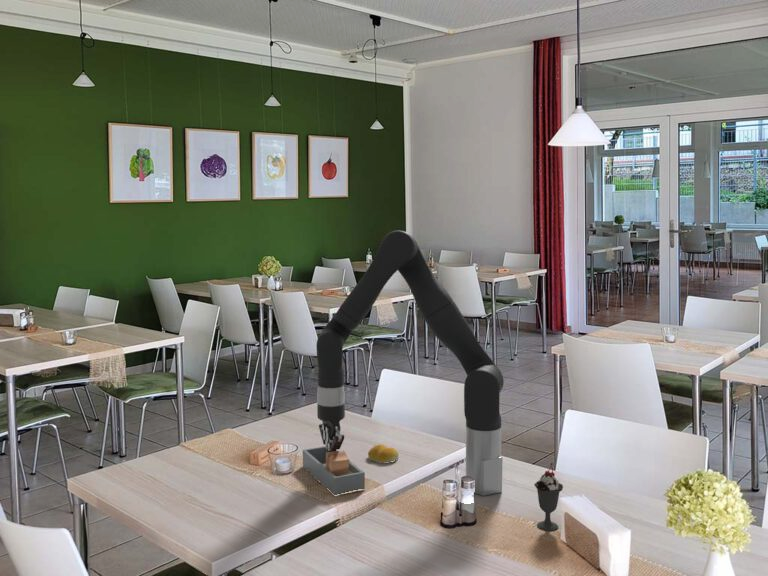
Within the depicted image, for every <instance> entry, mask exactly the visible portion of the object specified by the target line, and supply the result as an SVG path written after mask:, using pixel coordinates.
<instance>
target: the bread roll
mask: <svg viewBox="0 0 768 576" xmlns="http://www.w3.org/2000/svg"><path fill="white" fill-rule="evenodd" d="M367 455H368V458H369V459H370V461H372V460H373V461H372V462H375V461H377V462H376V463H378V462H381V463H380V464H382V463H383V464H385V463H384V462H391V461H394V460H396V461H398V459H399V451H398V450H397V449H395V448H393V447H388V446H387V445H385V444H375V445H373V447H371V448H370V449H369V450H368V452H367Z"/></svg>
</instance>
